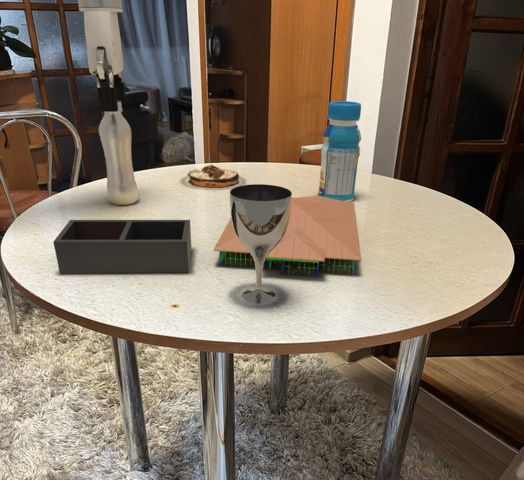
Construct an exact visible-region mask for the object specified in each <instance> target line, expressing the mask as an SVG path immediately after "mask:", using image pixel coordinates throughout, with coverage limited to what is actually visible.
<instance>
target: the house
mask: <svg viewBox="0 0 524 480" xmlns="http://www.w3.org/2000/svg"><path fill="white" fill-rule="evenodd" d="M355 207H356V206H355V202H351V201H350V202H346V201H341V200H336V199H332V198H327V197H322V196H318V195H310V196H308V195H307V196H298V197H292V203H291V213H290V218H289V223H288V227H287V230H286V233H285V235H284V237H283V239H282V240H281V241H280V242H279V243H278V244H277V245H276V247H275V248H274V249H273V250H272V251H271V252H270V253H269V254H268V256H267V257H266V259H265V260H266V269H268V270H269V269H271V268H272V265H273V264H272V263H273V262H274V263H282V271H281V274H282V275H284V270H285V267H286V268H287V267H288V268H287V270H288V271H287V275H289V273H290V272H289V271H290V265H285V262H298V264H299V265H298V269H303V270H305V269H309V270H308V274H310V273H311V269H313V270H312V271H314V269H316V277H318V275H319V267H320V265H321V266H322V265H323V269H322V271H324V268H325V261H326V259H328V263H330V261H331V260H334V262H333V267H343V269H345V268H346V267H347V268H349V269H348V270H349V271H350V269H351V268H352V269H351V271H352V275H354V274H355V265H356V261H361V262H362V254H361V248H360V247H361V246H360V238H359V229H358V223H357V215H356V208H355ZM213 252H219V266H221V265H222V263H223V261H225V263H224V265H225V266H227V260H228V259H229V260H230V262H229V263H230V267H232V260H233V259H234V261H235V265H234V266H235V267H236V266H237V253H240V254H239V255H240V256H239V257H240V258H239V260H240V261H239V263H240V264H239V265H240V266H239V267H242V254H245V255H244V256H245V257H244V262H245V263H244V264H245V268H246V267H247V261H250V263H249V264H250V266H249V267H250V268H252V261H254V259H253V258H249V259H247V254H250V252H249V251H248V250H247V249H246V248H245V246H244V245H243V244H242V243H241V242H240V241H239V239H238V238H237V236H236V235H235V232H234V229H233V225H232V219H231V217H230V219H229V220H228V222H227V223H226V225H225V228H224V230H223V231H222V233H221V235H220V236H219V238H218V240H217V243H216V244H215V245H214V248H213ZM227 253H229V255H230V256H229V257H227ZM232 253H235V255H234V257H232ZM224 259H225V260H224ZM330 259H331V260H330ZM336 260H344V261H349V263H351V265H346V264H344V265H342V264H341V262H339V263H338V265H335V263H336ZM320 262H323V263H320ZM301 263H312V264H317V265H316V267H315V265H313V266H312V267H309V268H308V267H306V264H304V265H303V267H301V266H300V265H301ZM340 264H341V265H340ZM329 269H330V267H328V269H327V273H329ZM334 272H335V269H333V271H332V273H333V274H334ZM292 273H293V274H292V275H295V271H293V272H292ZM339 273H340V271H338V274H339Z"/></svg>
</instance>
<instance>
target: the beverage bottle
mask: <svg viewBox="0 0 524 480" xmlns="http://www.w3.org/2000/svg"><path fill="white" fill-rule="evenodd" d="M361 112H362V104H361V103H360V102H358V101H348V100H335V101H330V102H329V103H328V110H327V119H328V120H329V123H328V125H327V126H326V127H325V130H324V131H323V134H322V140H323V144H322V145H321V148H320V155H321V159H320V160H321V161H320V172H319V173H320V176H319V187H318V193H317V196H322V197H327V198H332V199H336V200H341V201H346V202H350V203H351V202H352V201H353V200H354V199H355V189H356V181H357V172H358V163H359V157H360V155H361V148H360V142H361V141H362V134H361V130H360V127H359V126H358V124H357V122H359V121H360V119H361Z"/></svg>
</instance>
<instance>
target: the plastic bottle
mask: <svg viewBox="0 0 524 480" xmlns="http://www.w3.org/2000/svg"><path fill="white" fill-rule="evenodd" d="M117 103H118V111H117V112H104V115H103V117H102V119H101V121H100V123H99V125H98V135H99V136H100V137H99V139H100V142H101V146H102V149H103V154H104V159H105V165H106V166H105V167H106V179H107V181H106V194H107V196H108V200H109V201H110V202H111V204H113V205H116V206H117V205H118V206H127V205H133V204H135V203H136V202H138V201H137V200H138V198H139V188H138V185H137V181H136V177H135V171H134V167H133V159H132V156H133V155H132V128H131V126H130V124H129V122H128V121H127V119H126V118H125V117H124V116H123V114H122V112H123V111H124V110H123V105H121V101H119V100H117Z"/></svg>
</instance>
